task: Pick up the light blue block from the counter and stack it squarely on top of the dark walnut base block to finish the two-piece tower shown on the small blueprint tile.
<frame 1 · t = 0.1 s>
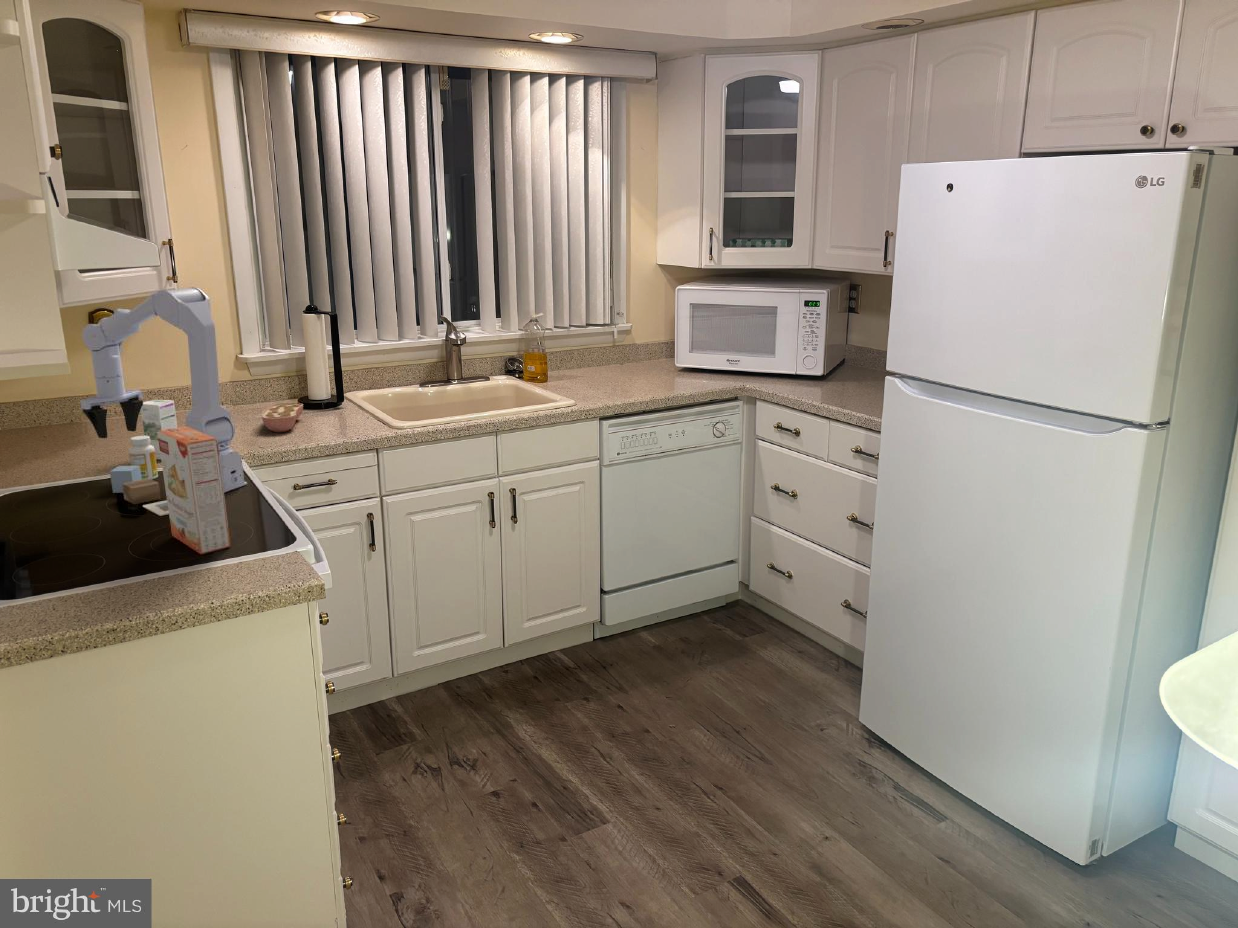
hand: (117, 434, 216), 10 cm above the table, tool pointing down, fingers open, 7 cm apart
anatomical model: (283, 427, 270), on the table
syrup box: (164, 458, 235), on the table
light blue block: (128, 489, 208), on the table
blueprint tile: (166, 508, 194), on the table
supplement bottle: (145, 478, 217), on the table
cracker box: (200, 543, 174), on the table
walnut base: (142, 498, 200), on the table
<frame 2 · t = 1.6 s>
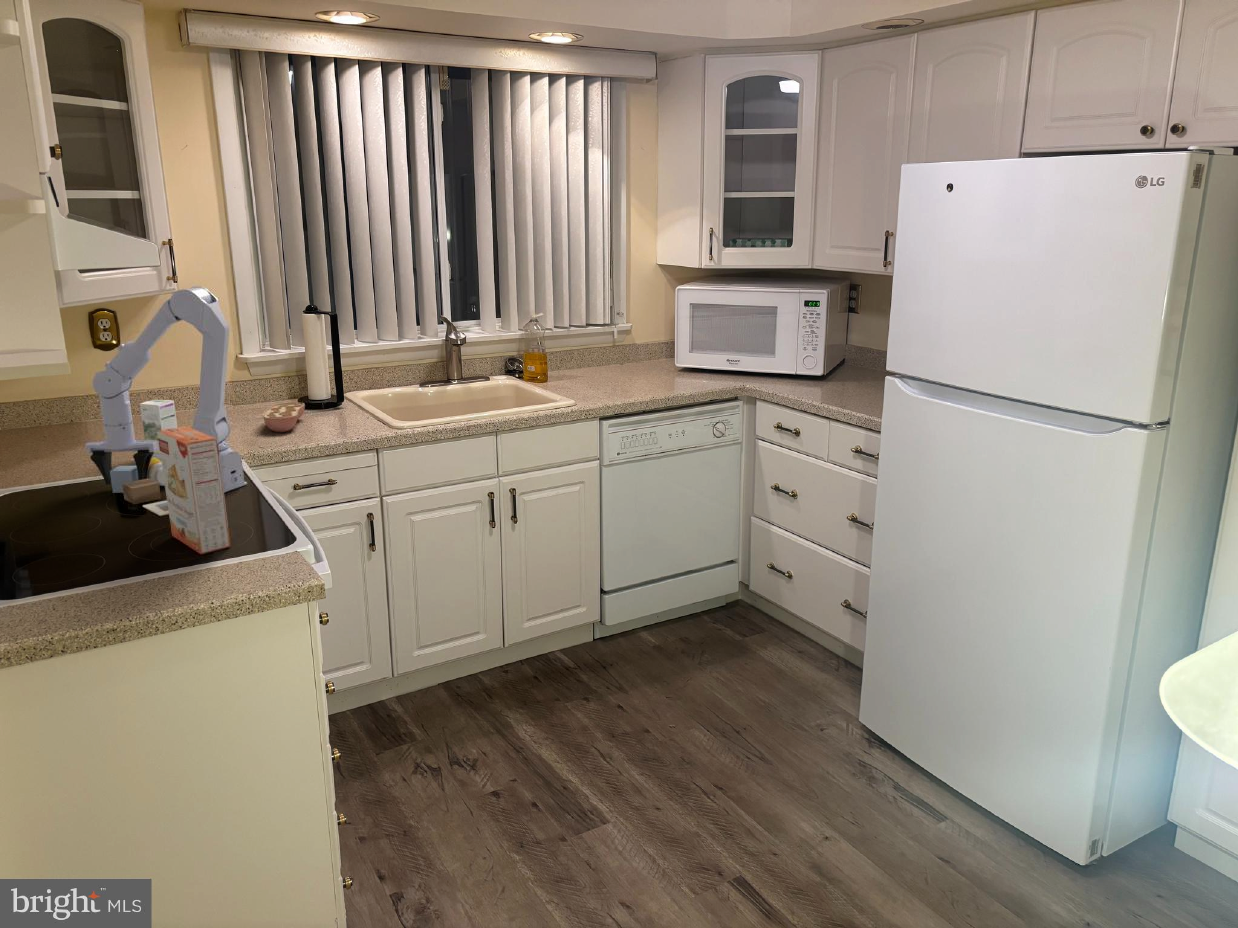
hand: (126, 483, 207), 1 cm above the table, tool pointing down, fingers open, 7 cm apart
supplement bottle: (150, 468, 214), point 3 cm above the table, touching gripper
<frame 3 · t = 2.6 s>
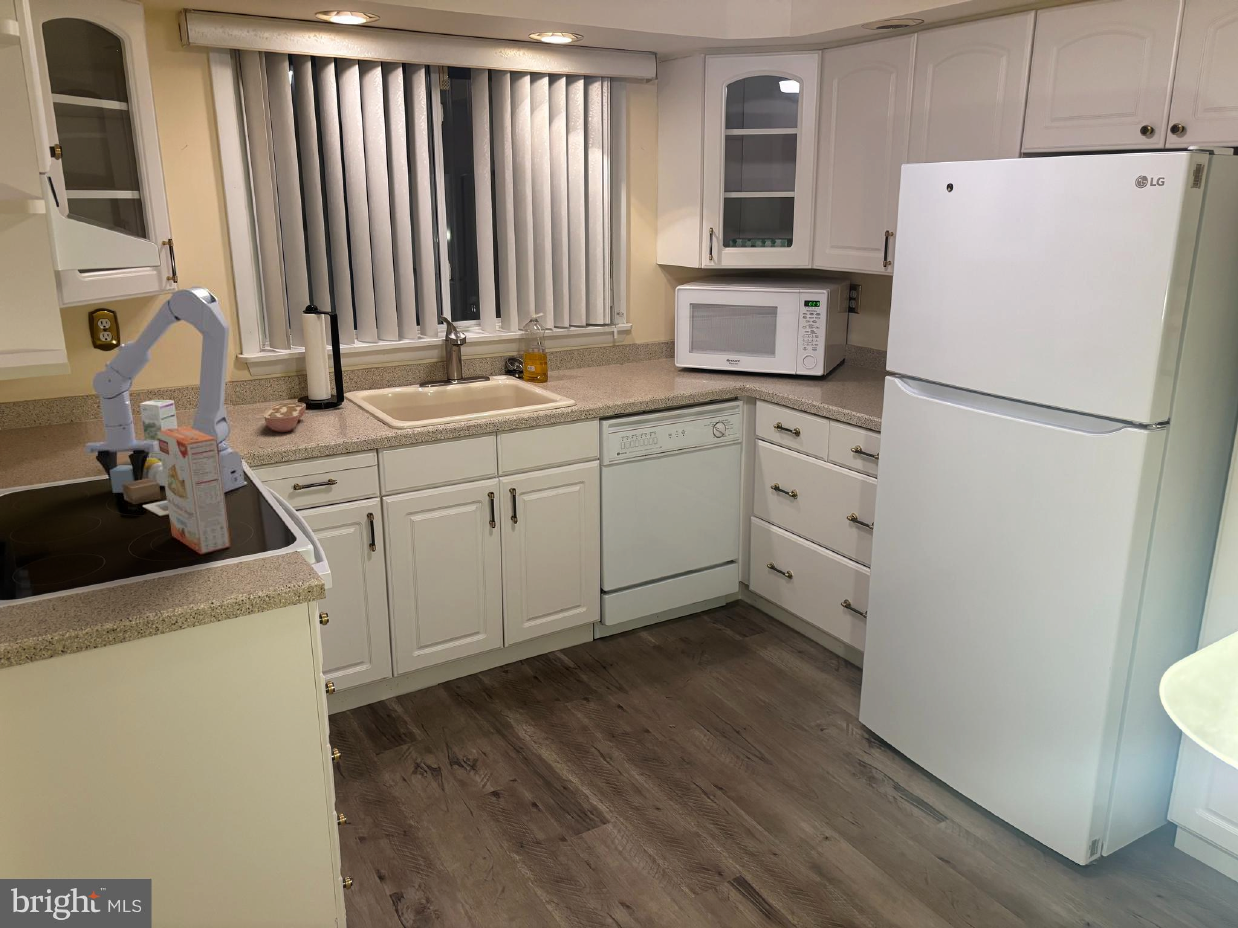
hand: (127, 483, 207), 1 cm above the table, tool pointing down, fingers closed on light blue block, 4 cm apart
light blue block: (128, 489, 207), on the table, touching gripper
supplement bottle: (149, 468, 214), point 3 cm above the table
everything else where it was.
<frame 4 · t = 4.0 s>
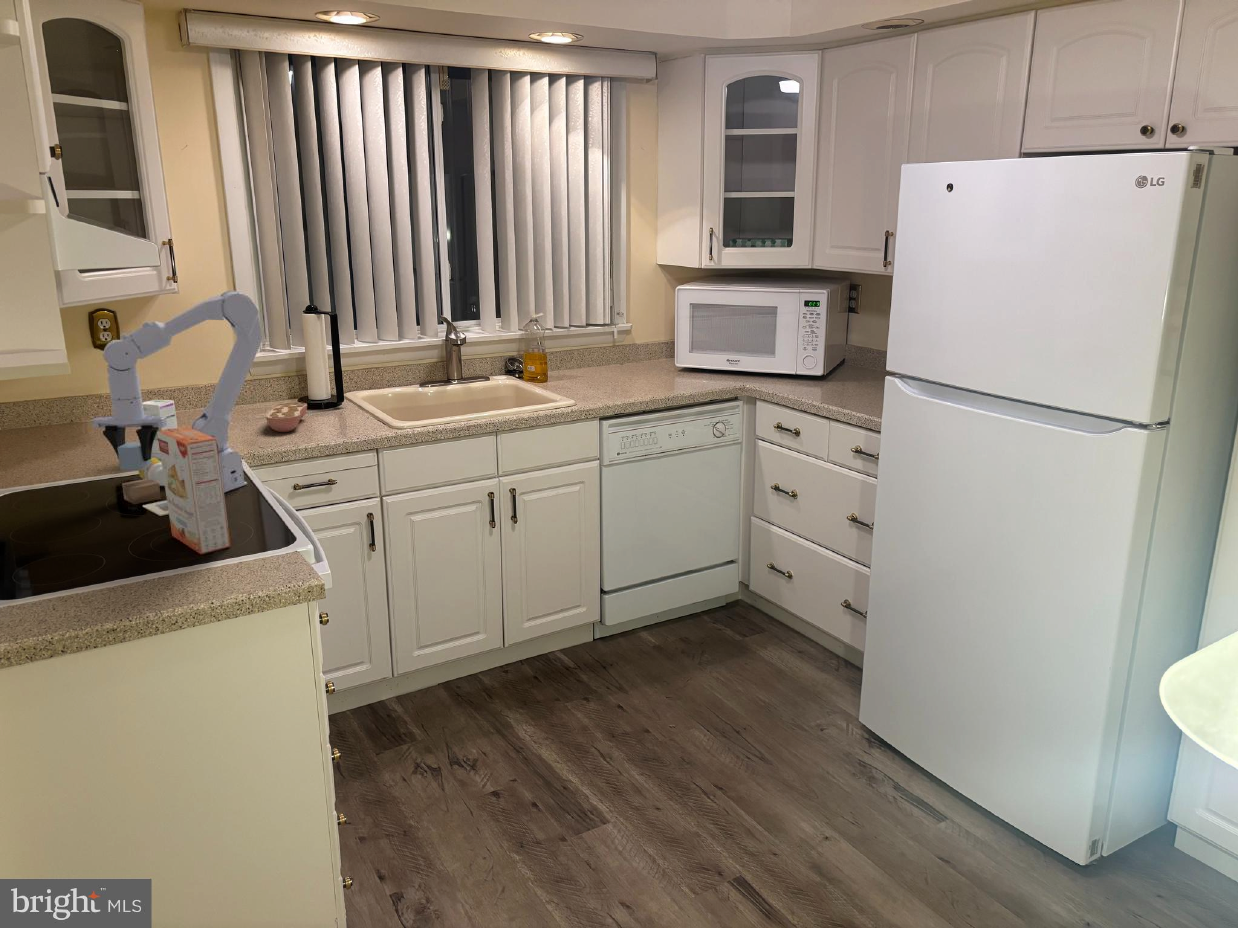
hand: (135, 460, 199), 8 cm above the table, tool pointing down, fingers closed on light blue block, 4 cm apart
light blue block: (136, 467, 200), point 7 cm above the table, touching gripper
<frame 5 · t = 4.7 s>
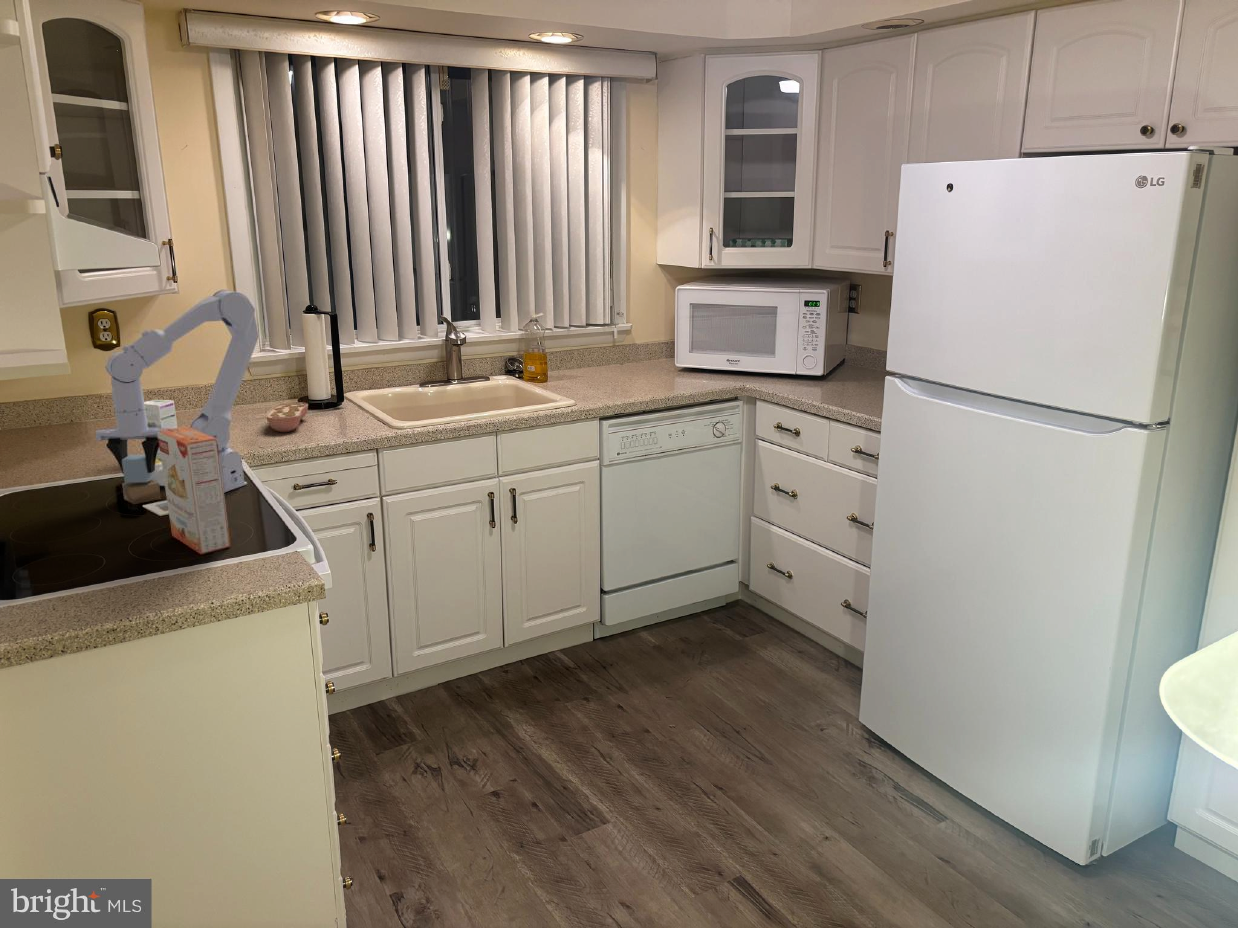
hand: (138, 472, 199), 6 cm above the table, tool pointing down, fingers closed on light blue block, 4 cm apart
light blue block: (139, 479, 199), point 4 cm above the table, touching gripper
when the fingers open (6 cm above the table, at t = 5.4 s): light blue block stays where it is, resting on walnut base.
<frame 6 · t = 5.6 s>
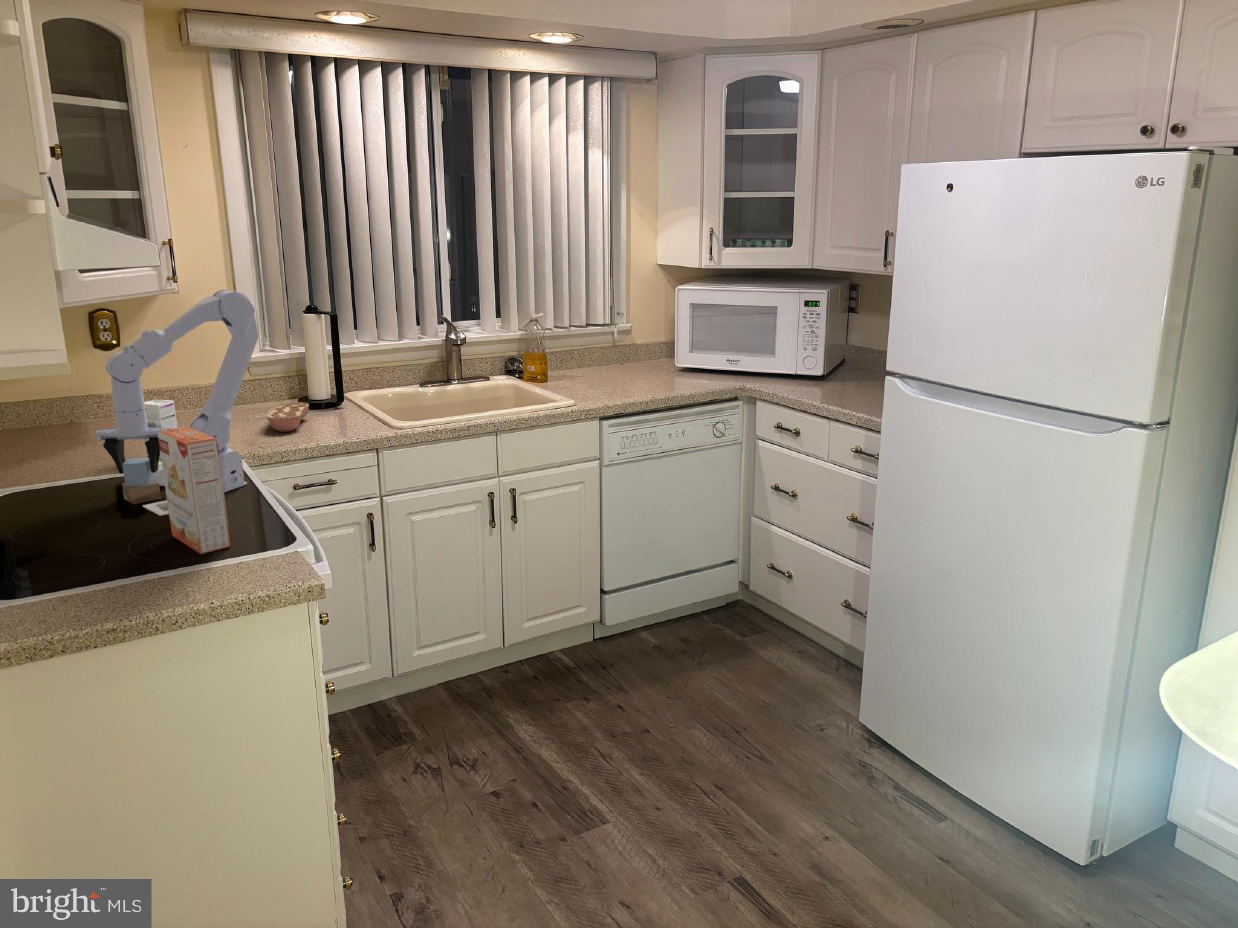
hand: (138, 472, 199), 6 cm above the table, tool pointing down, fingers open, 6 cm apart
light blue block: (140, 483, 200), point 3 cm above the table, touching walnut base
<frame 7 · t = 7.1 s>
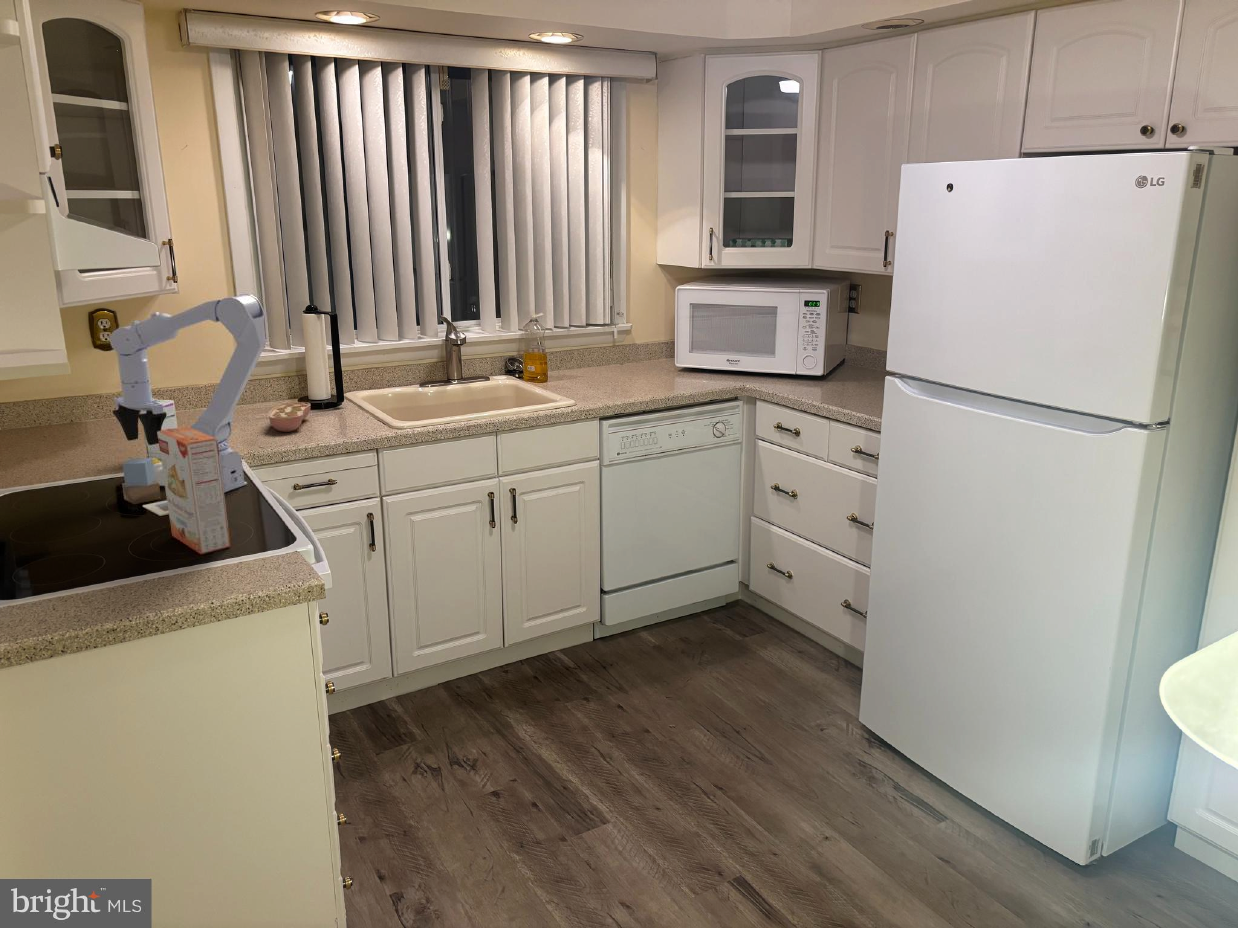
hand: (143, 441, 207), 10 cm above the table, tool pointing down, fingers open, 7 cm apart
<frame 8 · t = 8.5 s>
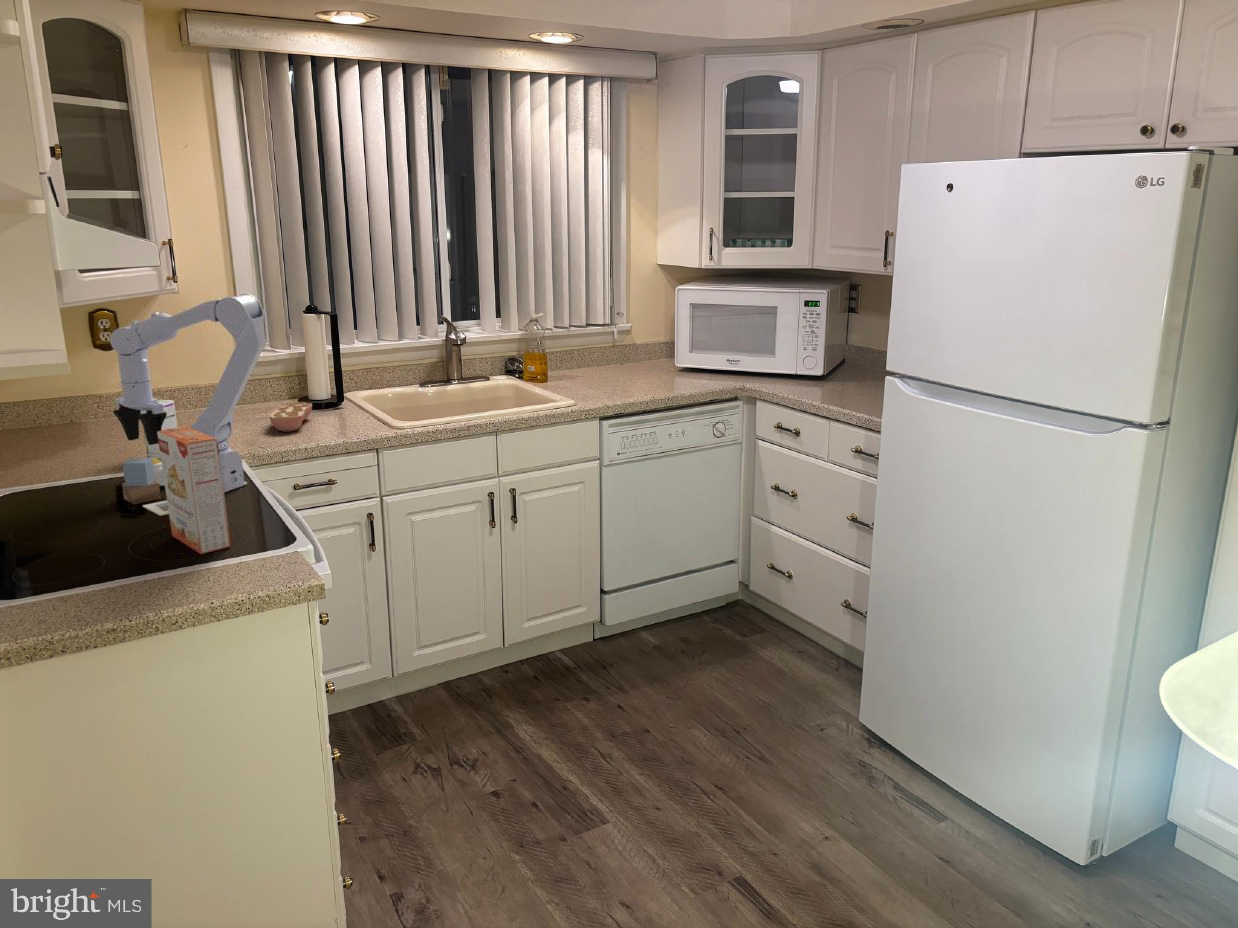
hand: (143, 441, 207), 10 cm above the table, tool pointing down, fingers open, 7 cm apart
at the end: light blue block 0.0 cm off-centre on the walnut base, point 3.5 cm above the walnut base's base; light blue block tilted 0°; the gripper is holding nothing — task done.
